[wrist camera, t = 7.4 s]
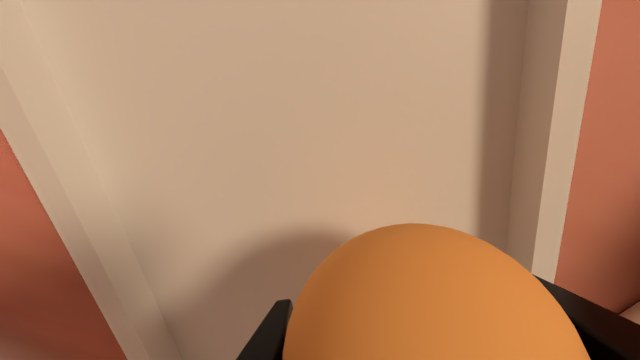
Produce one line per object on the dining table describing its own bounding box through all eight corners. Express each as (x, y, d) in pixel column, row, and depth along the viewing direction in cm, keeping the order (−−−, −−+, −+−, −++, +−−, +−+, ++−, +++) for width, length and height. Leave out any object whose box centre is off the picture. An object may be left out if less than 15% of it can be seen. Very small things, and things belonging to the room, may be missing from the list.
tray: (504, 355, 14) (533, 400, 12) (191, 394, 15) (173, 443, 13) (573, -278, 7) (671, -405, 5) (-65, -153, 7) (-194, -227, 5)
